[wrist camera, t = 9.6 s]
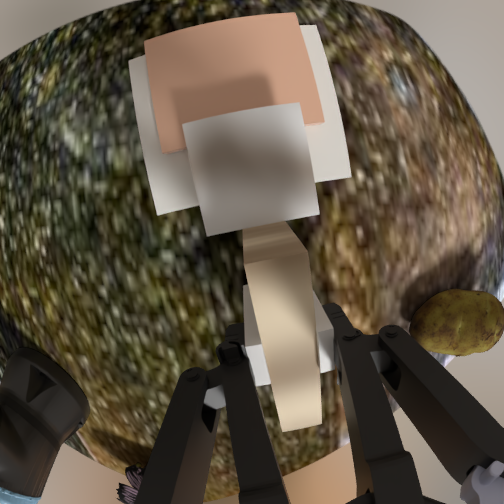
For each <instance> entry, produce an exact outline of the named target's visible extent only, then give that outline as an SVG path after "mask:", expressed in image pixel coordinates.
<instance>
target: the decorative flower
mask: <svg viewBox="0 0 504 504" xmlns="http://www.w3.org/2000/svg"><path fill="white" fill-rule="evenodd" d="M146 467H147V466H145V467H144V468H141V464H140V463H137V464H136V465H132V466H129V467H126V469H125V473H126V476H127V479H128V480H129V482H130V484H131V485H132V487H133V488H132V487H130V486H127V485H125V484H121V483H119V489H116V490H117V491H118V493H117V494H118V495H119V498H120V499H118V498H117V499H118V500H119V501H121V502H123V503H125V504H134V502H135V499H136V496H137V493H138V490H139V487H140V484H141V481H142V478H143V475H144V473H145V470H146Z"/></svg>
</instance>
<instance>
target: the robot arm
mask: <svg viewBox="0 0 504 504" xmlns="http://www.w3.org/2000/svg"><path fill="white" fill-rule="evenodd" d="M312 290H313V289H312ZM243 299H244V322H243V323H237V324H232V325H229V327H228V328H227V329H226V335H225V336H226V337H225V341H224V342H222V343H221V344H219V345H218V347H217V348H216V354H217V357H218V359H219V362H220V365H219V366H218V367H216V368H214V369H212V370H209V371H206V372H205V370H204V369H202V368H199V367H193V368H189V369H187V370H185V371H184V372H183V373H182V374H181V376H180V378H179V380H178V383H177V386H176V388H175V391H174V393H173V396H172V399H171V401H170V404H169V407H168V409H167V412H166V415H165V417H164V420H163V423H162V425H161V428H160V431H159V434H158V436H157V439H156V442H155V445H154V447H153V450H152V453H151V456H150V458H149V461H148V464H147V467H146V470H145V473H144V475H143V478H142V481H141V484H140V487H139V490H138V493H137V496H136V499H135V502H134V504H203V498H204V493H205V488H206V483H207V478H208V473H209V468H210V463H211V457H212V452H213V447H214V442H215V437H216V432H217V427H218V422H219V416H220V411H221V407H224V406H226V410H227V417H228V423H229V430H230V436H231V442H232V448H233V454H234V460H235V465H236V471H237V476H238V482H239V487H240V492H239V504H291V503H290V500H289V497H288V493H287V490H286V487H285V484H284V481H283V478H282V475H281V471H280V468H279V465H278V462H277V458H276V455H275V452H274V449H273V445H272V442H271V439H270V435H269V432H268V428H267V425H266V421H265V418H264V414H263V411H262V407H261V404H260V400H259V397H258V393H257V390H256V386H261V385H267V384H271V380H270V375H269V371H268V366H267V362H266V358H265V354H264V349H263V345H262V341H261V338H260V334H259V330H258V325H257V321H256V317H255V312H254V308H253V303H252V299H251V294H250V290H249V285H243ZM313 300H314V309H315V320H316V337H317V349H318V362H319V369H320V372H321V373H323V372H327V371H330V370H334V369H335V364H336V366H337V385H340V390H341V395H342V400H343V405H344V410H345V415H346V420H347V426H348V432H349V437H350V443H351V449H352V455H353V462H354V468H355V475H356V483H357V498H355V499H353V500H351V501H350V502H348V503H346V504H445V503H442V502H439V501H437V500H434V499H431V498H428V497H426V496H423V495H422V491H421V487H420V483H419V479H418V476H417V472H416V468H415V465H414V461H413V458H412V455H411V454H410V452H408V451H405V450H404V448H403V445H402V441H401V438H400V435H399V431H398V428H397V425H396V422H395V419H394V416H393V413H392V410H391V407H390V404H389V401H388V398H387V395H386V392H385V390H384V387H383V384H384V386H385V387H386V388H387V390H388V391H389V392H390V394H391V395H392V396H393V398H394V399H395V400H396V402H397V403H398V404H399V406H400V407H401V408H402V410H403V411H404V412H405V414H406V415H407V416H408V418H409V419H410V420H411V422H412V423H413V424H414V426H415V427H416V429H417V430H418V431H419V433H420V434H421V435H422V437H423V438H424V440H425V441H426V442H427V444H428V445H429V446H430V448H431V449H432V451H433V452H434V453H435V455H436V456H437V458H438V459H439V460H440V462H441V463H442V465H443V466H444V467H445V469H446V470H447V471H448V473H449V474H450V475H451V476H452V477H453V478H454V479H455V480H456V481H457V482H458V483H459V484H461V485H462V487H461V494H460V498H461V499H462V500H464V501H465V502H466V503H467V504H504V428H503V427H502V426H501V425H500V424H499V423H498V422H497V421H496V420H495V419H494V418H493V417H492V416H491V415H490V414H489V412H488V411H487V410H486V409H485V408H484V407H483V406H482V405H481V404H480V403H479V402H478V401H477V400H476V399H475V398H474V397H473V396H472V395H471V394H470V393H469V392H468V391H467V390H466V389H465V388H464V387H463V386H462V385H461V384H460V383H459V382H458V381H457V380H456V379H455V378H454V377H453V376H452V375H451V374H450V373H449V372H448V371H447V370H446V369H445V368H444V367H443V366H442V365H441V364H440V363H439V362H438V361H437V360H436V359H435V358H434V357H433V356H432V355H430V354H429V353H428V352H427V351H426V350H425V349H424V348H423V347H422V346H421V345H420V344H419V343H418V342H417V341H416V340H414V339H413V338H412V337H411V336H410V335H409V334H408V333H407V332H406V331H405V330H404V329H403V328H401V327H399V326H397V325H387V326H384V327H382V328H381V329H380V330H379V334H375V335H365V334H363V333H362V332H361V331H360V330H358V329H356V328H354V327H353V326H352V324H351V323H350V321H349V319H348V318H347V316H346V315H345V313H344V312H343V310H342V309H341V307H340V306H339V305H337V304H335V303H330V304H326V305H322V306H321V304H320V302H319V300H318V298H317V296H316V294H315V293H314V291H313ZM255 383H256V386H255ZM382 383H383V384H382ZM89 414H90V406H89V403H88V400H87V398H86V397H85V395H84V393H83V392H82V390H81V389H80V388H79V386H78V385H77V384H76V383H75V382H74V380H73V379H72V378H71V377H70V376H69V375H68V374H67V373H66V372H65V371H64V370H63V369H61V368H60V367H59V366H58V365H57V364H56V363H54V362H53V361H52V360H50V359H49V358H47V357H46V356H44V355H43V354H41V353H39V352H37V351H35V350H33V349H30V348H25V347H22V348H18V349H17V350H16V351H15V352H14V353H13V354H12V355H11V356H10V358H9V359H8V362H7V365H6V368H5V371H4V374H3V377H2V380H1V383H0V503H1V504H37V503H38V501H39V500H40V499H41V495H42V492H43V490H44V487H45V484H46V482H47V479H48V476H49V474H50V471H51V468H52V466H53V464H54V461H55V459H56V457H57V454H58V451H59V450H60V447H61V445H62V444H63V443H64V442H65V441H66V440H67V439H69V438H70V437H71V436H72V435H73V434H74V433H75V432H76V431H77V430H78V429H79V428H81V427H82V426H83V425H84V424H85V422H86V420H87V418H88V416H89Z"/></svg>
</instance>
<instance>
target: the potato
mask: <svg viewBox="0 0 504 504" xmlns="http://www.w3.org/2000/svg"><path fill="white" fill-rule="evenodd" d="M503 331H504V308H503V306H502V304H501V302H500V301H499V300H498V299H497V298H496V297H495V296H493V295H491V294H489V293H486V292H484V291H474V290H473V291H466V290H462V289H450V290H446V291H443V292H440V293H438V294H436V295H435V296H433V297H431V298H430V299H429V300H428V301H426V302H425V303H424V304H423V305H422V306H421V307H420V308H419V309H418V310H417V311H416V313H415V314H414V316H413V318H412V321H411V323H410V327H409V333H410V335H411V337H412V338H413V339H414V340H416V341H417V342H418V343H419V344H420V345H421V346H422V347H423V348H424V349H425V350H427V351H431V352H436V353H442V354H449V355H455V356H466V355H470V354H472V353H481V352H485V351H488V350H489V349H491V348H492V347H493V346H494V345H495V344H496V343H497V342H498V341H499V339H500V338H501V336H502V334H503Z"/></svg>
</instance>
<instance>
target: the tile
mask: <svg viewBox="0 0 504 504" xmlns="http://www.w3.org/2000/svg"><path fill="white" fill-rule="evenodd" d="M144 46H145V54H146V62H147V69H148V76H149V83H150V89H151V95H152V101H153V107H154V113H155V119H156V124H157V129H158V134H159V139H160V144H161V149H162V154H171V153H174V152H178V151H181V150H185V149H187V146H186V141H185V136H184V131H183V126H182V124H185V123H188V122H192V121H196V120H200V119H204V118H209V117H213V116H217V115H222V114H227V113H232V112H237V111H242V110H248V109H254V108H260V107H266V106H273V105H281V104H289V103H297V102H300V107H301V111H302V116H303V121H304V126H313V125H320V124H322V123H324V122H325V120H324V115H323V111H322V106H321V102H320V97H319V93H318V89H317V85H316V81H315V77H314V73H313V70H312V66H311V62H310V59H309V55H308V52H307V48H306V45H305V42H304V38H303V35H302V32H301V29H300V26H299V23H298V20H297V17H296V14H295V13H277V14H264V15H254V16H246V17H239V18H232V19H226V20H221V21H215V22H211V23H206V24H201V25H197V26H193V27H189V28H185V29H181V30H178V31H174V32H171V33H167V34H164V35H161V36H158V37H155V38H152V39H149V40H146V41H144Z"/></svg>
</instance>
